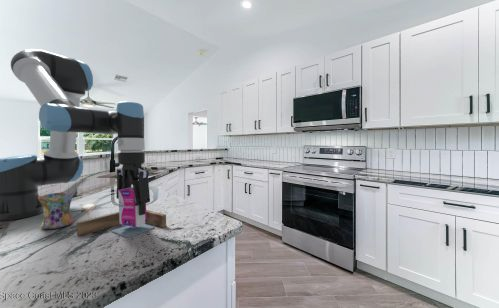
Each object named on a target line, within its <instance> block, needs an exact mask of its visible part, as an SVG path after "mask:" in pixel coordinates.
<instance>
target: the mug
mask: <svg viewBox="0 0 499 308" xmlns="http://www.w3.org/2000/svg"><path fill="white" fill-rule="evenodd" d="M74 195H75V193H74V192H71V191H70V192H68V191H67V192H66V191H65V192H63V191H61V192H53V193H47V194H42V195H39V197H38V200H39V201H40V203H41V205H42V207H43V211H44V212H43V218H42V223H41V224H40V226H39V227H40V228H41V229H43V230H55V229H60V228H63V227H67V226H69V225H72V224H73V223H74V219H73V217H72V215H71V202H72V200H73V197H74Z"/></svg>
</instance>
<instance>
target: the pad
mask: <svg viewBox="0 0 499 308" xmlns="http://www.w3.org/2000/svg"><path fill="white" fill-rule="evenodd" d="M153 229H155V226H154V225H150V224H147V223H145V224H143V225H140V226H136V227H132V226H121V227H119V228H118V227H117V228H114V229H112V230H111V232H110V233H113V234H116V235H119V236H121V237H124V238H131V237H134V236H137V235H140V234H142V233H145V232H149V231H150V230H153Z"/></svg>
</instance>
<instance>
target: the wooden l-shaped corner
mask: <svg viewBox="0 0 499 308" xmlns="http://www.w3.org/2000/svg"><path fill="white" fill-rule="evenodd" d="M146 216H147V221H146V222H145V224H147V225H151V226H154V227H159V228H161V229H162V228H165V227H167V214H165V213H161V212H158V211H153V210H149V209H146ZM118 225H120V222H119V211H117V212H112V213H108V214H104V215H101V216H96V217H93V218H89V219H85V220H80V221H77V222H76V236H78V237H81V236H85V235H89V234H92V233H95V232H98V231H101V230H104V229H108V228H112V227H115V226H118Z"/></svg>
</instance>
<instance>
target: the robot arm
mask: <svg viewBox="0 0 499 308" xmlns="http://www.w3.org/2000/svg"><path fill="white" fill-rule="evenodd" d="M10 69H11V71H12V74H13V75H14V76H15V77H16V78H17V80H19V81H20V82H21V83H24V85H25V86H26V87H27V88H28V90H29V91H30V93H31V94H32V95H33V97H34V99H35V100H36V101H37V102H38V104H39V106H40V107H39V111H38V119H39V120H38V121H39V124H40V126H41V128H43V129H44V130H45V131H50V137H49V145H48V146H49V147H48V149H47V150H45V151H44V153H43V157H38V155H36V154H25V155H14V156H8V157H1V158H0V222H3V221H12V220H18V219H19V220H20V219H24V218H25V219H26V218H28V217H33V216H36V215H40V214H42V213H44V211H43V207H42V205H41V203H40V201H39V200H38V197H39V196H40V195H39V186H40V187H42V186H47V185H56V184H68V183H72V182H75V181H77V180H79V179H80V178H81V176H82V174H83V171H84V161H83V158H81V157H80V156H79V153H78V152H77V151H76V142H77V133H85V134H86V133H87V134H103V135H117V141H116V143H117V150H118V151H120V152H118V153H117V163H118V164H119V165H122V167H121V168H119V169H116V177H117V178H116V199H117V200H119V195H118V190H121V189H125V188H129V187H133V189H134V190H135V197H136V201H137V204H135V216H136V226H140V225H143V224H146V223H145V204H146V205H147V204H148V203H150V202H151V193H150V185H149V173H150V172H149V170H143V168H142V165H143V164H145V163H146V160H145V158H146V157H145V155H146V154H145V152H144V151H146V150H145V149H146V147H145V146H146V145H145V113H144V112H145V111H144V105H143V104H141V103H139V102H133V101H119V102H117V104H116V109H115V111H113V110H112V111H110V110H101V109H97V108H96V109H95V108H94V109H93V108H89V107H88V108H86V107H81V106H80V104H81V98H82V97H84V96H85V95H86V91H87V92H88V91H91V89H92V88H93V85H94V75H93V73H92V70H91V68H90V66H89V64H87V63H85V62H83V61H82V60H78V59H76V58H72V57H71V58H70V57H68V56H65V55H60V54H57V53H54V52H50V51H47V50H43V49H38V48H29V49H23V50H21V51H19V52H17V53H16V54H14V55H13V56H12V58H11V59H10Z"/></svg>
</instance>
